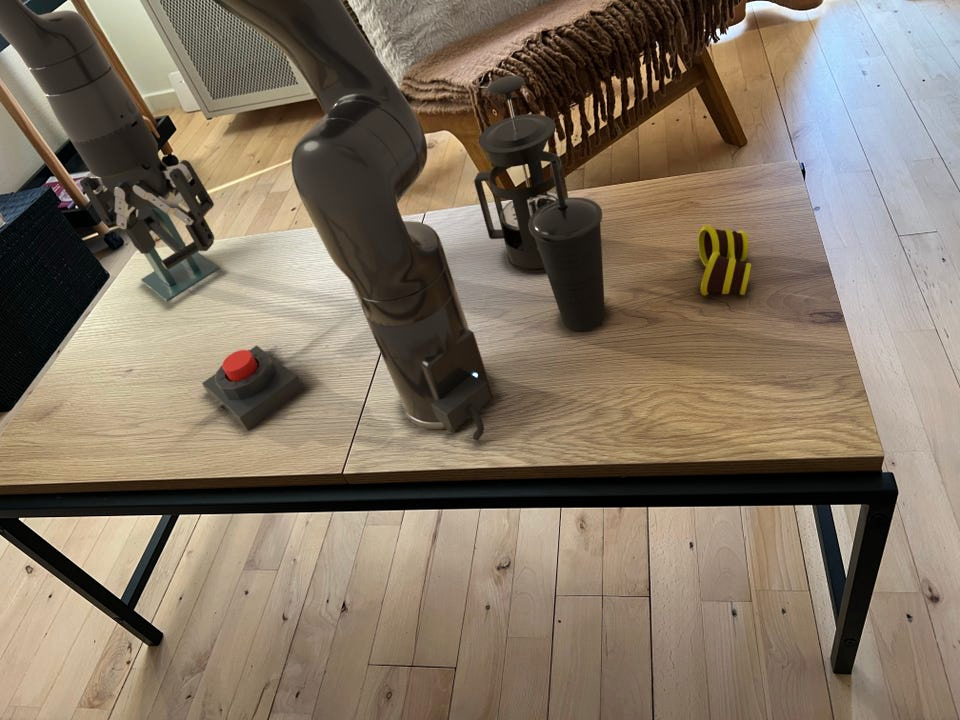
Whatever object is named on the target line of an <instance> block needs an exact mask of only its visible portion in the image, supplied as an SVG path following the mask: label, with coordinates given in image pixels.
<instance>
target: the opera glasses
mask: <svg viewBox="0 0 960 720" xmlns="http://www.w3.org/2000/svg"><path fill="white" fill-rule="evenodd" d="M697 237H698V238H697V246H698V247H697V248H698V254H699V258H700V261H701V262H702V264H703V266H704V267H705V270H704V272H703V275H702V278H701V282H700V294H701V296H708V295H709V293H721V295H729V293H732V294H736V293H739V295H740V296H745V294H746V291H747V287H748V283H749V279H750V273H751V268H752V263H750V262H746V264H744V263H743V262H745V261H746V260H747V258H748V254H749V237H748V234H747V231H746V230H739V231H736V230H731V229H729V228H722V229H718V228H715V227H714V226H712V225H710V224H706V225H703V226H702V227H701V229H700V230H699V232H698V236H697Z"/></svg>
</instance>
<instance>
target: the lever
mask: <svg viewBox="0 0 960 720" xmlns="http://www.w3.org/2000/svg"><path fill="white" fill-rule="evenodd" d="M140 218H141V219H142V221H143V223H144V224H145V226H146V227H147V229H148V231H149V232H150V233H151V232H153V233H154V234H155V235H156V236H157V237H158V238H159V239H160V240H161V241H162V242H163V243H164V244H165V245H166V246H167V247H168V248H169V249H170V250H172V251H173V252H174V253H172V254H171V255H169V256H167V257H165V258H164V259H162V261H161V263H162V265H163V266H164V267H165V269H166V270H169V269H170V268H172V267H174V266H175V265H177V264H179V263H180V262H182V261H184V260H185V259H187V258H189V257H190V256H192V255H193V254H195V253H199V252H200V251H199V249H198V248H197V246H196V244H195V242H194V241H192V242H190V243H188V244H187V245H186V246H185V247H184V248H183V247H182V246H181V245H180V244H179V243H178V242H177V241H176V240H175V239H174V238H173V237H172V236H171V235H170V234H169V233H167V232H166V231H165V230H164V229H163V228H162V227H161V226H160V223H159V221H158V219H157V217H156V215H155V213H154V212H153V211H152V210H151V209H150V208H147V207H146V208H143V209H140V210H138V217H137V219H140Z"/></svg>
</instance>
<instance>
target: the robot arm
mask: <svg viewBox="0 0 960 720" xmlns="http://www.w3.org/2000/svg"><path fill="white" fill-rule="evenodd" d="M211 1H212V2H214V3H215V4H216V5H218V6H219V7H221V8H222V9H224V10H225V11H226V12H227V13H229V14H231V15H232V16H234V17H235V18H237V19H238V20H239V21H241V22H242V23H244V24H245V25H247V26H249V27H250V28H252V29H253V30H254V31H256V32H258V33H259V34H260V35H262V36H263V37H264V38H266V39H267V40H268V41H270V42H272V43H273V45H275V46H276V47H277V48H278V49H279V50H280V51H282V53H284V54H285V56H286V57H287V58H288V59H289V60H290V61H291V62H292V64H293V65H294V67H295V68H296V69H297V70H298V71H299V73H300V74H301V76H302V77H303V79H304V80H305V81H306V84H307V85H308V86H309V88H310V90H311V91H312V92H313V94H314V96H315V98H316V100H317V101H318V103H319V105H320V108H321V109H322V111H323V113H324V116H322V118H321V119H319V121H317V122H316V123H315V124H314V125H313V126H312V127H311V128H310V129H309V130H308V131H307V132H306V133H305V134H304V135H303V136H302V137H301V138H300V139H299V141H298V142H296V144H295V146H294V148H293V150H292V153H291V161H290V162H291V173H292V179H293V182H294V185H295V188H296V191H297V193H298V195H299V198H300V200H301V202H302V205H303V206H304V208H305V210H306V212H307V214H308V217H309V218H310V220H311V222H312V224H313V226H314V228H315V229H316V231H317V234H318V236H319V238H320V240H321V241H322V243H323V246H324V247H325V250H326V251H327V253H328V255H329V258H330V259H331V260H332V262H333V263H334V265H335V266H336V267H337V268H338V269H339V270H340V271H341V273H343V275H345V277H346V278H347V279H348V280H349V282H350V285H351V287H352V289H353V292H354V294H355V296H356V298H357V300H358V303H359V305H360V308H361V310H362V312H363V315H364V317H365V320H366V322H367V324H368V327H369V329H370V331H371V334H372V336H373V338H374V341H375V343H376V345H377V348H378V350H379V352H380V355H381V357H382V359H383V361H384V362H383V363H384V364H385V366H386V368H387V371H388V374H389V375H390V378H391V380H392V383H393V385H394V387H395V389H396V391H397V394H398V396H399V398H400V401H401V404H402V408H403V411H404V413H405V415H406V417H407V418H408V420H409V421H410V422H411V423H412V424H414V425H415V426H418V427H420V428H423V429H428V430H448V431H449V432H451V433H454V432H456V431H457V430H458V429H459V428H460V427H462V426H463V425H464V424H465V423H466V422H468V421H469V420H470V419H473V421H474V423H475V426H476V430H475V432H474V433H473V435H472V439H473V440H474V441H479V440H481V437H482V436H483V434H484V431H485V425H484V422H483V419H482V417H481V416H480V414H479V412H480V411H481V410H482V409H483V408H484V407H485V406H486V405H488V404H489V403H490V402H491V401H492V400H494V398H495V396H494V392H493V388H492V387H491V382H490V379H489V377H488V376H489V375H488V374H487V371H486V367H485V365H484V361H483V358H482V354H481V351H480V349H479V348H480V347H479V345H478V342H477V339H476V335H475V333H474V331H473V330H471V329H470V328H469V326H468V322H467V319H466V316H465V312H464V309H463V307H462V304H461V303H462V302H461V300H460V297H459V294H458V291H457V288H456V285H455V281H454V278H453V275H452V272H451V268H450V265H449V263H448V260H447V256H446V253H445V249H444V246H443V243H442V241H441V238H440V236H439V234H438V232H437V231H436V230H435V229H434V228H433V227H431V226H430V225H428V224H426V223H424V222H419V221H412V220H411V221H410V220H408V221H407V220H406V221H404V219H403V217H402V214H401V212H400V209H399V206H398V203H399V202H400V201H401V200H402V199H403V198H404V197H405V195H406V194H407V193H408V191H409V190H410V189H411V187H412V186H413V185H414V184H415V183H416V181H417V180H418V179H419V177H420V176H421V175H422V173H423V171H424V169H425V167H426V164H427V159H428V143H427V138H426V135H425V132H424V129H423V127H422V125H421V123H420V120H419V118H418V116H417V115H416V113H415V111H414V110H413V108H412V106H411V105H410V103H409V102H408V100H407V98H406V96H404V94H403V92H402V91H401V90H400V88H399V86H398V85H397V84H396V82H395V80H394V79H393V77H392V76H391V74H390V73H389V72H388V70H387V69H386V68H385V66H384V65H383V63H382V62H381V60H380V59H379V58H378V56H377V54H376V53H375V52H374V50H373V48H372V47H371V45H370V44H369V42H368V41H367V39H366V38H365V36H364V35H363V34H362V31H360V29H359V27H358V26H357V24H356V23H355V21H354V20H353V18H352V17H351V15H350V13H349V12H348V10H347V8H346V6H345V4H344V2H343V1H342V0H211ZM0 35H1V36H2V37H3V38H4V39H5V40H6V41H7V42H8V43H9V44H10V46H11V47H12V48H13V49H14V50H15V51H16V52H17V53H18V55H19V57H20V58H21V59H22V61H23V62H24V64H25V65H26V67H27V69H28V70H29V72H30V73H31V75H32V77H33V79H34V80H35V82H36V83H37V84H38V86H39V88H40V89H41V91H42V92H43V93H44V96H45V98H46V99H47V102H48V104H49V106H50V108H51V110H52V113H53V114H54V116H55V118H56V120H57V122H58V123H59V124H60V125H61V127H62V129H63V131H64V132H65V134H66V135H67V137H68V138H69V140H70V141H71V143H72V145H73V147H74V148H75V150H76V151H77V153H78V154H79V156H80V157H81V159H82V161H83V162H84V164H85V166H86V167H87V169H88V170H89V172H88V174H86V175H85V176H84V177H83V178H82V179H80V180H79V184H80V186H81V189H82V190H83V191H84V193H85V195H86V196H87V198H88V200H89V201H90V203H91V205H92V206H93V208H94V210H95V211H96V213H97V215H98V217H99V219H100V221H101V222H102V223H103V224H104V225H106V226H112V224H113V225H116V226H117V227H118V228H119V229H121V230H124V232H125V233H126V235H127V236H128V238H129V239H130V241H131V242H132V244H133V246H134V248H135V249H137V250H138V251H139V253H140V254H142V255H144V254H148V253H149V252H150V251H151V250H152V249H153V248H155V247H156V244H157V243H156V241H155V239H154V237H153V236H152V234H151V231H150V232H149V231H148V229H147V227H146V226H145V224H144V223H143V221H142V219H141V218H140V219H137V217H138V210H140V209H143V208H146V207H147V208H159V209H161V210H162V211H163V212H165V213H166V214H168V215H173V216H175V217H176V218H177V219H179V221H182V223H184V224H185V226H184V227H185V229H186V230H187V232H188V234H189V235H190V237H191V239H192V240H193V241H192V242H195V244H196V246H197V248H198V249H199V251H198V252H207V251H208V250H209V249H211V247H212V246H213V245H214V242H215V235H214V233H213V232H212V230H211V227H210V226H209V224H208V222H207V220H206V219H205V216H206V215H208V213H209V212H210V211H211V210H212V209H213V208H214V206H215V202H214V200H213V199H212V198H211V196H210V194H209V193H208V191H207V189H206V188H205V186H204V184H203V183H202V181H201V179H200V177H199V176H198V174H197V172H196V171H195V169H194V167H193V165H192V164H191V163H190V161H188V160H186V159H182V160H181V161H180V162H179V163H178V164H176V165H171V166H168V165H166V164H165V162H164V161H163V160H162V159H161V158H160V156H159V145H158V141H157V140H156V138H155V136H154V135H153V133H152V131H151V129H150V127H149V125H148V124H147V122H146V120H145V118H144V116H143V114H142V113H141V110H140V109H139V108H138V105H137V103H136V102H135V100H134V98H133V97H132V95H131V93H130V91H129V89H128V88H127V86H126V84H125V82H123V80H122V79H121V78H120V76H119V74H118V73H117V72H116V70H115V69H114V67H113V65H112V64H111V61H110V60H109V58H108V56H107V54H106V53H105V51H104V50H103V48H102V46H101V44H100V42H99V40H98V39H97V37H96V35H95V33H94V31H93V30H92V28H91V27H90V25H89V23H88V22H87V20H86V19H85V18H84V17H83V15H82V14H81V13H78V11H77V12H76V11H74V10H67V9H66V10H58V11H57V10H56V11H53V12H47V13H43V14H37V13H35V12H34V11H32V10H31V9H30V8H29V7H27V6H26V4H24V3H23V2H22V0H0ZM171 194H173V195H174V197H173V199H171V200H168V199H169V198H170V195H171ZM198 200H199V201H198ZM106 204H107V206H108V207H107V206H106ZM180 205H182V206H184V208H186V209H187V210H188V211H187V210H185V209H184V208H183V207H181V206H180ZM108 208H109V209H108Z"/></svg>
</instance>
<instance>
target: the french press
mask: <svg viewBox="0 0 960 720" xmlns="http://www.w3.org/2000/svg"><path fill="white" fill-rule="evenodd" d="M524 84H525V78H524V77H522V76H519V75H507V76H502V77H500V78H498V79H495V80H494V81H492V82H490V83H489V84H488V86H487V89H486V91H487V92H488V93H489V94H492V95H503V98H504V100H505V101H507V103H508V108H509V113H510V117H507V118H504V119H501V120H499V121H497V122H495V123H492V124H491V125H490V126H488V127H487V128H486V129H484V131H482V133H481V135H480V136H479V138H478V144H479V147H480V149H481V150H483V152H485V157H486V160H487V161H488V162H489V163H490V164H491V165H494V166H492V168H491V169H490V171H480V172H477V173H476V176H475V178H474V180H473V181H474V187H475V190H476V194H477V199H478V201H479V205H480V210H481V212H482V216H483V219H484V224H485V226H486V227H485V228H486V230H487V235H488V237H489V239H490V240H502V239H503V241H504V246H505V250H506V259H507V262H508V265H509V266H510V267H511V268H512V269H514V270H516V271H518V272H520V273H524V274H531V275H532V274H534V275H535V274H544V273H546V270H545V267H544V264H543V261H542V258H541V255H540V252H539V249H538V246H537V243H536V240H535V237H534V236H533V235H532V234H531V233H530V230H529V226H528V224H529V220H530V217H531V216H532V214H533V213H534V212H535V211H536V210H538V209H539V208H540V207H542V206H544V205H545V204H548V203H550V202H552V201H555V200H558V198H557V193H556V191H551V190H553V189H555V182H554V177H553V175H552V176H551V177H549V178H548V179H545V175H544V169H543V164H542V162H547V163H551V162H552V161H557V162H558V167H559V172H560V177H561V183H562V188H563V193H564V198H569V193H568V187H567V182H566V178H565V173H564V167H563V162H562V159H561V158H560V155H557V154H556V153H554V152H551V151H547V150H545V148H546V145H547V143H548V140H549V139H550V138H551V137H552V136H553V134H554V133H555V131H556V124H555V121H554V120H553V119H552V118H551V117H549V116H547V115H545V114H539V113H525V114H517V115H515V113H514V109H513V103H512V99H513V98H514V97H513V92H514V91H516V90H518V89H520V88H521V87H522V86H523V85H524ZM526 165H527V167H526ZM520 166H522V170H523V175H524V180H525V184H526V187H525V188H523V187H522V188H513V189H512V188H511V189H510V188H503V187H499V186H498V184H497V178H498V177H499V175H501V174H502V173H503V172H505V171H507V170H509V169H510V168H514V167H520ZM527 168H528V172H529V177H530V179H529V177H528V172H527ZM483 182H488V183H489V187H490V191H491V193H492V196H493V200H494V204H495V209H496V212H497V217H498V220H499V224H500V227H501V228H500V229H495V226H494V224H493V220H492V216H491V212H490V208H489V204H488V200H487V197H486V193H485V188H484V186H483ZM530 182H531V185H530ZM501 199H504V200H510V201H509V202H508V203H507V204H506V205H505V206H504V207H503V203H502V200H501ZM521 246H523V249H519V248H520V247H521Z"/></svg>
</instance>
